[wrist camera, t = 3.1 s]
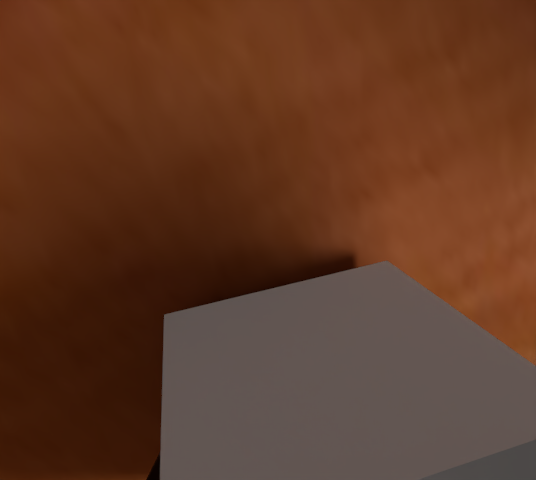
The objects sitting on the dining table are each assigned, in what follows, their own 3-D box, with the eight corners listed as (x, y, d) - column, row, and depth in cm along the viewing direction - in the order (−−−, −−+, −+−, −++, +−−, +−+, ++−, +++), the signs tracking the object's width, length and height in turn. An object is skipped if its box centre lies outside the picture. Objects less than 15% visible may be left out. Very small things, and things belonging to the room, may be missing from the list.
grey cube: (386, 260, 9) (604, 415, 5) (396, 431, 11) (563, 670, 6) (164, 314, 8) (156, 567, 4) (211, 490, 10) (247, 814, 6)
